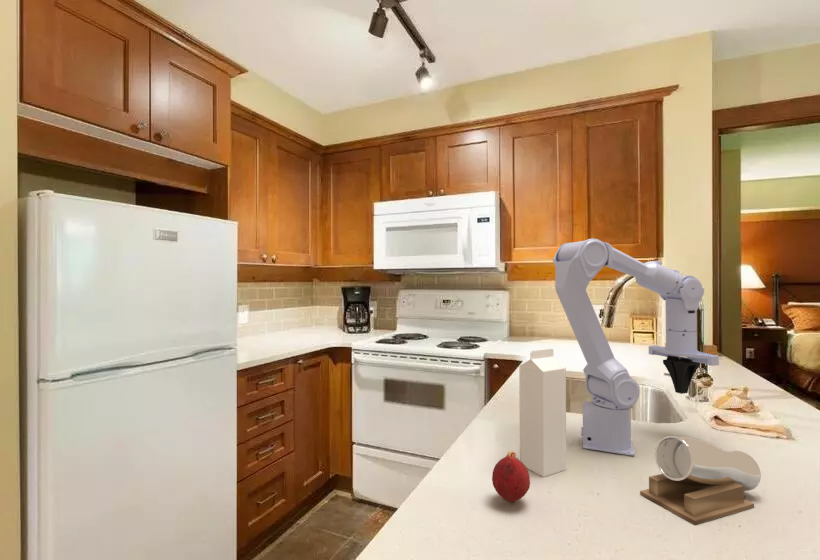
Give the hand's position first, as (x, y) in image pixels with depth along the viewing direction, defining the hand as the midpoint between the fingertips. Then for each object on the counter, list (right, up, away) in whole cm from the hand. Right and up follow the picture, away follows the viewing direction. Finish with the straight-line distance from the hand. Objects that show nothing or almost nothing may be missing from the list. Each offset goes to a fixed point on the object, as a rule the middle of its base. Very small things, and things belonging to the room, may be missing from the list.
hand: (681, 392), depth 90 cm
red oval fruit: (-43, -11, -25) cm, 51 cm away
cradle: (-14, -10, -25) cm, 30 cm away
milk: (-34, -11, -13) cm, 38 cm away
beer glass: (-4, -7, -22) cm, 23 cm away
